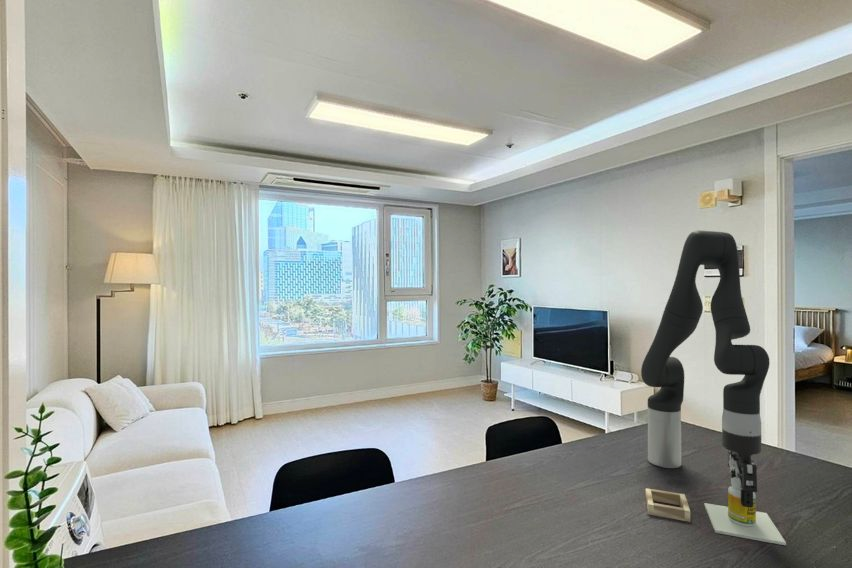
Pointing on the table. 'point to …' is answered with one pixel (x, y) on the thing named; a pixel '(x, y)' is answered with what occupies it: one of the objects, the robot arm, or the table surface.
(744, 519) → the supplement bottle
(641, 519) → the table surface
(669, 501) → the collar
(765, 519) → the coaster plate
